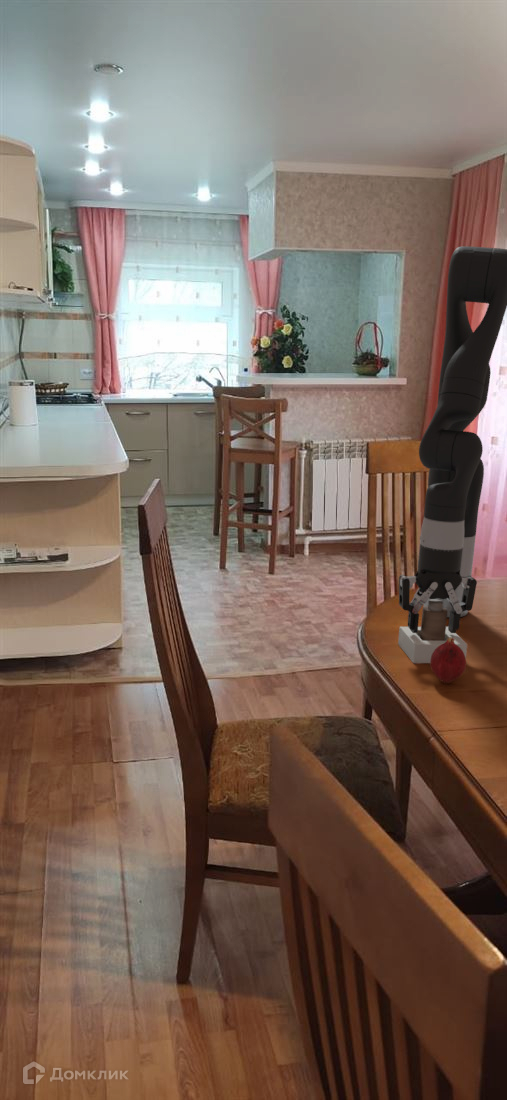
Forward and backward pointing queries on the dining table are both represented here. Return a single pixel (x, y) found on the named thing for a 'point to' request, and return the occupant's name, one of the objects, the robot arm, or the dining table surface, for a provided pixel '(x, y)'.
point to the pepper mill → (433, 621)
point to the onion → (448, 661)
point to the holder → (424, 644)
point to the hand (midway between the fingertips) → (432, 631)
